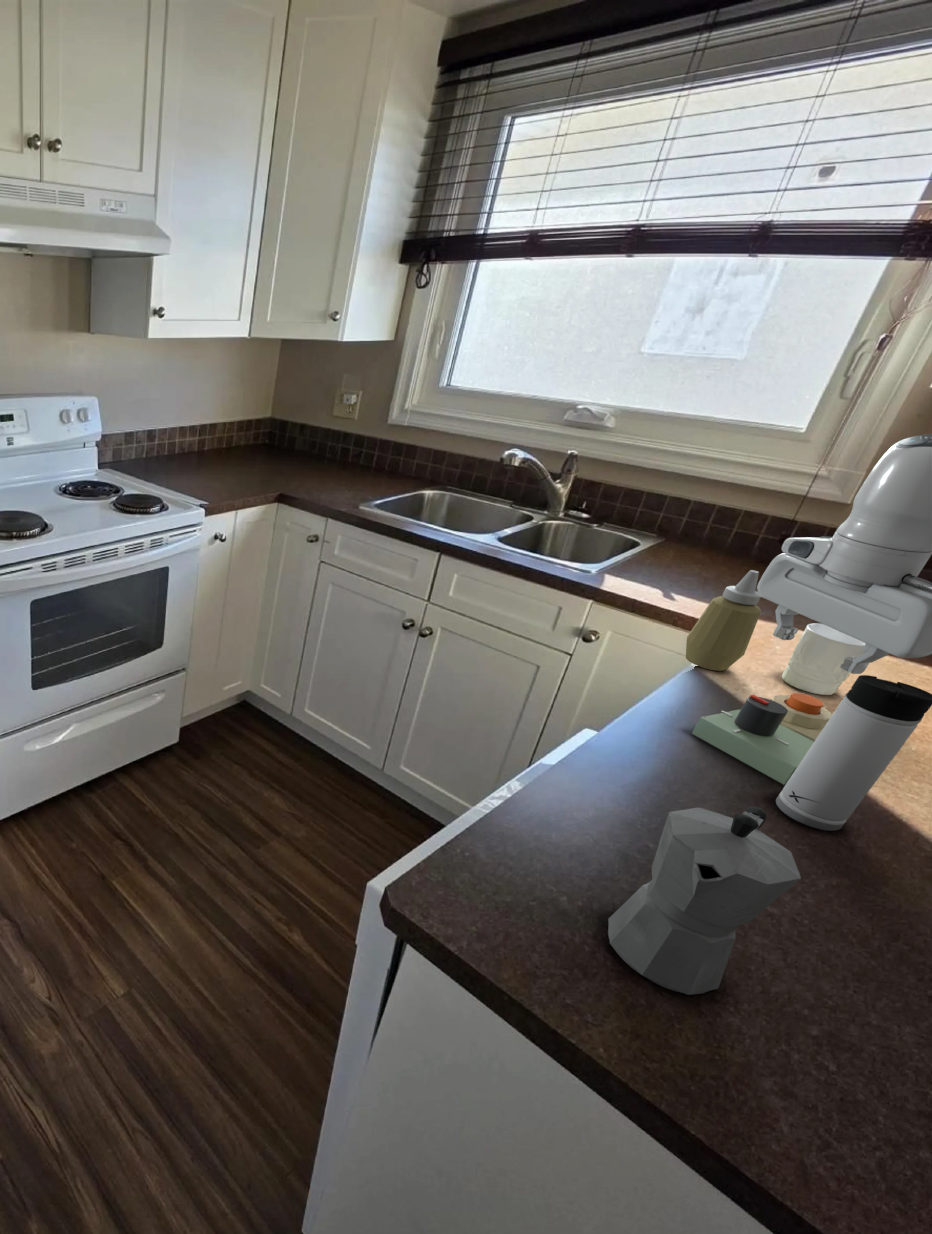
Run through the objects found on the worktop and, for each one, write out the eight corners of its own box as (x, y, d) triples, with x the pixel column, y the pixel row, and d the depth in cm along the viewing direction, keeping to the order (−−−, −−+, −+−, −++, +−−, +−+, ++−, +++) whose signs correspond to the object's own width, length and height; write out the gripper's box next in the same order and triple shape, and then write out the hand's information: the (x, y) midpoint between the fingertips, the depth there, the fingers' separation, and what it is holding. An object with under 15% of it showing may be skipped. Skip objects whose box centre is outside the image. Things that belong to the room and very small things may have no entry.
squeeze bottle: (672, 661, 122) (718, 569, 114) (683, 648, 127) (729, 558, 118) (728, 680, 117) (782, 584, 108) (738, 665, 121) (790, 573, 113)
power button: (823, 713, 101) (829, 704, 100) (807, 717, 100) (813, 707, 99) (795, 700, 104) (801, 691, 104) (779, 704, 103) (785, 694, 102)
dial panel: (831, 772, 94) (843, 754, 93) (783, 784, 92) (796, 766, 90) (734, 722, 105) (744, 705, 103) (689, 732, 102) (699, 715, 100)
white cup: (773, 682, 116) (804, 631, 112) (780, 668, 121) (809, 618, 116) (837, 703, 111) (871, 650, 106) (840, 687, 116) (874, 635, 111)
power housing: (860, 748, 100) (875, 726, 98) (821, 758, 97) (836, 736, 95) (774, 708, 109) (787, 687, 107) (736, 716, 106) (749, 694, 105)
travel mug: (780, 819, 85) (871, 686, 76) (770, 791, 90) (854, 662, 81) (847, 840, 82) (951, 705, 73) (833, 810, 87) (928, 679, 78)
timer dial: (781, 734, 97) (797, 709, 95) (759, 738, 96) (774, 713, 94) (748, 717, 101) (762, 692, 99) (726, 720, 100) (740, 696, 98)
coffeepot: (692, 1028, 60) (797, 886, 52) (578, 950, 67) (655, 813, 59) (747, 946, 68) (846, 812, 60) (640, 884, 75) (716, 755, 67)
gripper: (992, 594, 79) (921, 694, 85) (814, 535, 97) (766, 621, 103) (943, 594, 78) (875, 694, 85) (774, 535, 96) (728, 621, 103)
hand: (814, 653), depth 94 cm, fingers open, 8 cm apart
